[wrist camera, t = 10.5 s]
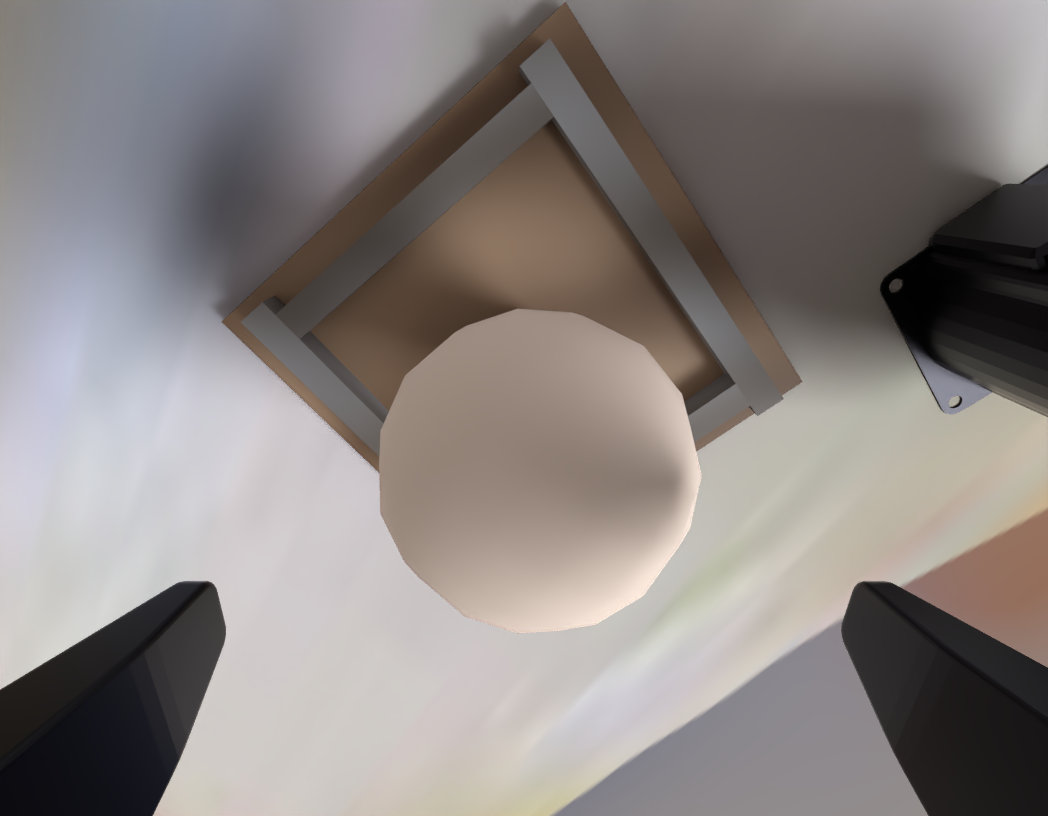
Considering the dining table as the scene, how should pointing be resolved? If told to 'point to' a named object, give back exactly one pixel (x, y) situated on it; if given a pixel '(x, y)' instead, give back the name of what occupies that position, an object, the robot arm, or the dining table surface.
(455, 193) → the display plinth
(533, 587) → the light bulb
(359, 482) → the dining table surface
